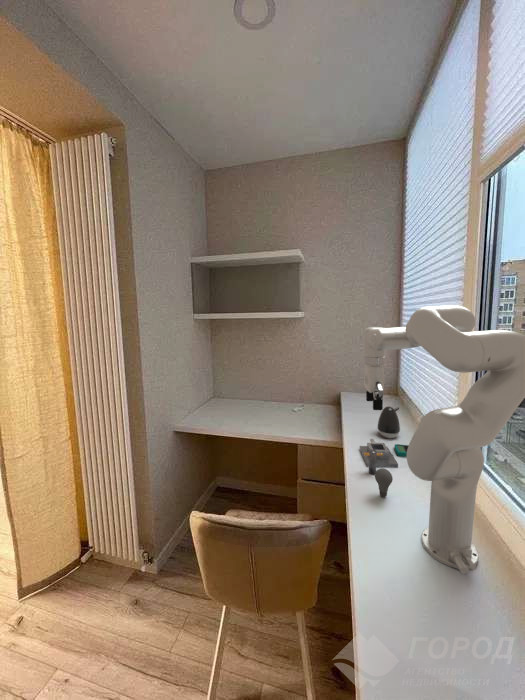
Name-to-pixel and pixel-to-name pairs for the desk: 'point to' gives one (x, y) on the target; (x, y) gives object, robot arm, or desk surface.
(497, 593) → the desk surface
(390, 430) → the pump dispenser
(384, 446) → the block
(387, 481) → the light bulb
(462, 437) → the robot arm
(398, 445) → the digital multimeter
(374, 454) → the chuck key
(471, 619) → the desk surface
